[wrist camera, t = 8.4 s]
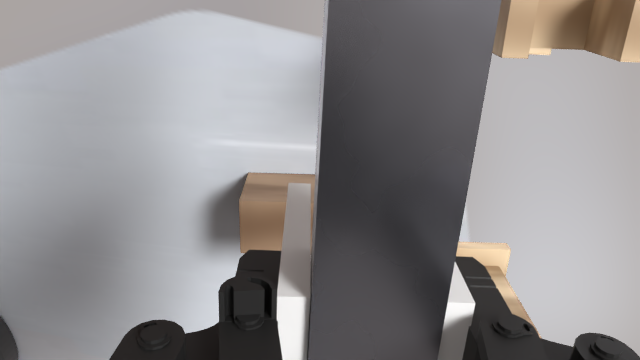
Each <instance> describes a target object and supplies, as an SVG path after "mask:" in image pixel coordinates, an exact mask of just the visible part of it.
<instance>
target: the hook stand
mask: <svg viewBox="0 0 640 360" xmlns="http://www.w3.org/2000/svg"><path fill="white" fill-rule="evenodd" d="M551 49H578V50H586V51H589V52H592V53H595V54H598V55H601V56H605V57H607V58H611V59H614V60H617V61H620V62H640V0H501V6H500V11H499V17H498V22H497V28H496V34H495V39H494V45H493V51H492V53H494V54H495V55H498V56H499V57H501V58H526V59H528V56H529V54H535V55H550V53H551ZM510 251H511V249H510V248H509V246H508V245H507V244H506V243H478V242H477V243H476V242H475V243H474V242H458V247H457V253H456V256H461V257H474V258H475V259H476V260H477V261H479V262H480V263H481V264H482V265H484V266H485V267H486V269H487V271H488V273H489V274H490V276H491V279H493V281H494V283H495V285H496V288H498V290H499V292H500V293H501V295H502V297H503V299H504V300H505V302H506V304H507V306H508V307H509V309H510V311H511V312H512V314H514V315H517V316H519V317H521V318H523V319H525V320H526V321H528V322H529V323H530V324H532V325H533V326H534V324H533V323H532V321H531V319H530V318H529V316H528V314H527V312H526V311H525V309H524V307H523V306H522V304H521V302H520V301H519V300H518V297H517V296H516V294H515V292H514V291H513V289H512V287H511V286H510V284H509V282H508V281H507V279H506V277H505V276H506V272H507V267H508V262H509V257H510ZM534 328H535V326H534ZM535 329H536V328H535ZM536 331H537V329H536ZM537 332H538V331H537ZM538 335H539V337H540V338H541V336H540V334H539V333H538ZM541 339H542V338H541Z"/></svg>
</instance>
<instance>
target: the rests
mask: <svg viewBox="0 0 640 360" xmlns="http://www.w3.org/2000/svg"><path fill="white" fill-rule="evenodd" d="M288 183H306V184H311V245H312V226H313V208H314V189H315V175H311V174H278V173H248V175H247V178H246V181H245V184H244V187H243V190H242V193H241V196H240V199H239V218H240V250H241V253H246V252H247V251H248V250H275V251H282V241H283V232H284V222H285V212H286V203H287V193H288Z"/></svg>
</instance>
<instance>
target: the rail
mask: <svg viewBox="0 0 640 360" xmlns="http://www.w3.org/2000/svg"><path fill="white" fill-rule="evenodd" d="M324 6H325V7H324V24H323V42H322V60H321V79H320V97H319V116H318V134H317V153H316V171H315V189H314V208H313V226H312V245H311V281H310V315H309V333H308V351H307V360H437V359H438V354H439V348H440V342H441V337H442V331H443V326H444V320H445V314H446V309H447V303H448V297H449V292H450V286H451V281H452V275H453V269H454V264H455V258H456V253H457V247H458V241H459V236H460V230H461V225H462V219H463V213H464V208H465V202H466V196H467V191H468V185H469V179H470V174H471V168H472V162H473V157H474V152H475V146H476V140H477V135H478V129H479V123H480V118H481V112H482V107H483V101H484V95H485V90H486V84H487V79H488V73H489V67H490V62H491V56H492V51H493V45H494V39H495V34H496V28H497V22H498V17H499V11H500V6H501V0H325V5H324Z"/></svg>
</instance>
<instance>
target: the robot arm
mask: <svg viewBox="0 0 640 360" xmlns="http://www.w3.org/2000/svg"><path fill="white" fill-rule="evenodd" d="M310 281H311V184H306V183H288V193H287V203H286V212H285V222H284V232H283V241H282V251H275V250H248V251H247V252H246V253H245V254H244V255H243V256H242V257H241V258H240V260H239V264H238V268H237V272H236V276H235V277H233V278H231V279H228V280H227V281H226V282H224V283H223V284H222V285H221V287H220V290H219V322H218V323H217V324H215V325H214V326H212V327H210V328H207V329H204V330H201V331H197V332H192V333H186V334H185V332H184V330H183V328H182V327H181V326H180V325H178V324H177V323H175V322H172V321H167V320H152V321H148V322H145V323H141V324H139V325H138V326H136V327H134V328H132V329H131V330H130V331H129V332H128V333H127V334H126V335H125V336H124V338H123V339H122V341H121V342H120V344H119V345H118V347H117V349H116V350H115V352H114V353H113V355H112V356H111V358H110V360H307V351H308V333H309V315H310ZM0 360H18V351H17V347H16V343H15V340H14V338H13V336H12V334H11V332H10V330H9V328H8V327H7V325H6V323H5V322H4V321H3V319H2V318H1V317H0ZM437 360H640V357H639V356H638V355H637V354H636V353H635V352H634V351H633V350H632V349H631V348H629V347H628V346H627V345H626V344H624V343H622V342H621V341H619V340H617V339H615V338H613V337H610V336H606V335H603V334H597V333H585V334H581V335H580V336H578V337H577V338H576V340H575V343H574V346H573V347H571V346H567V345H563V344H559V343H555V342H551V341H548V340H544V339H541V338H540V337H539V335H538V332H537V331H536V329H535V328H534V326H533V325H532V324H530V323H529V322H528V321H526V320H525V319H523V318H521V317H519V316H517V315H514V314H512V312H511V311H510V309H509V307H508V306H507V304H506V302H505V300H504V299H503V297H502V295H501V293H500V292H499V290H498V288H496V285H495V283H494V281H493V279H491V276H490V274H489V273H488V271H487V269H486V267H485V266H484V265H482V264H481V263H480V262H479V261H477V260H476V259H475V258H474V257H461V256H456V258H455V264H454V269H453V275H452V281H451V286H450V292H449V297H448V303H447V309H446V314H445V320H444V326H443V331H442V337H441V342H440V348H439V354H438V359H437Z"/></svg>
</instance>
